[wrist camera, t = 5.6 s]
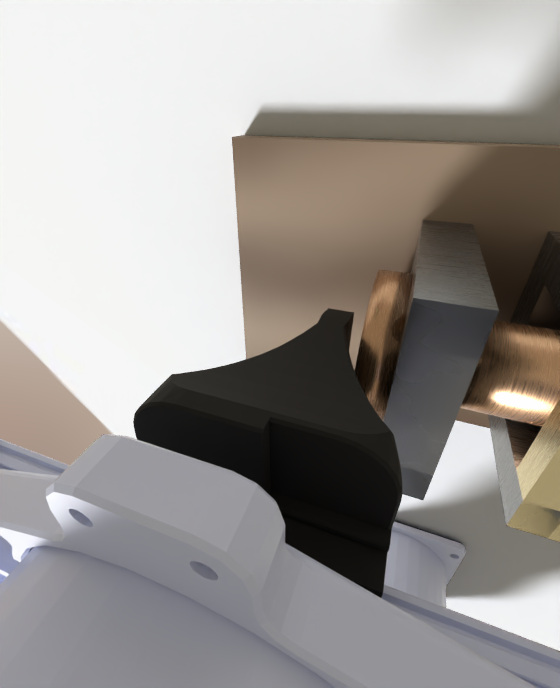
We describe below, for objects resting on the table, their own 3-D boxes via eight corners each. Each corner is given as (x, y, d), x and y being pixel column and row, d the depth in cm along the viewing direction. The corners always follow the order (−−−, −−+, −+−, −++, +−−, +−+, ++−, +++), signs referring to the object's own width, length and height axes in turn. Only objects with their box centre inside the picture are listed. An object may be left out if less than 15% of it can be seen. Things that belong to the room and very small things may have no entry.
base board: (789, 481, 14) (810, 504, 13) (254, 359, 20) (247, 370, 19) (1215, 165, 7) (1307, 171, 7) (243, 135, 14) (231, 137, 13)
